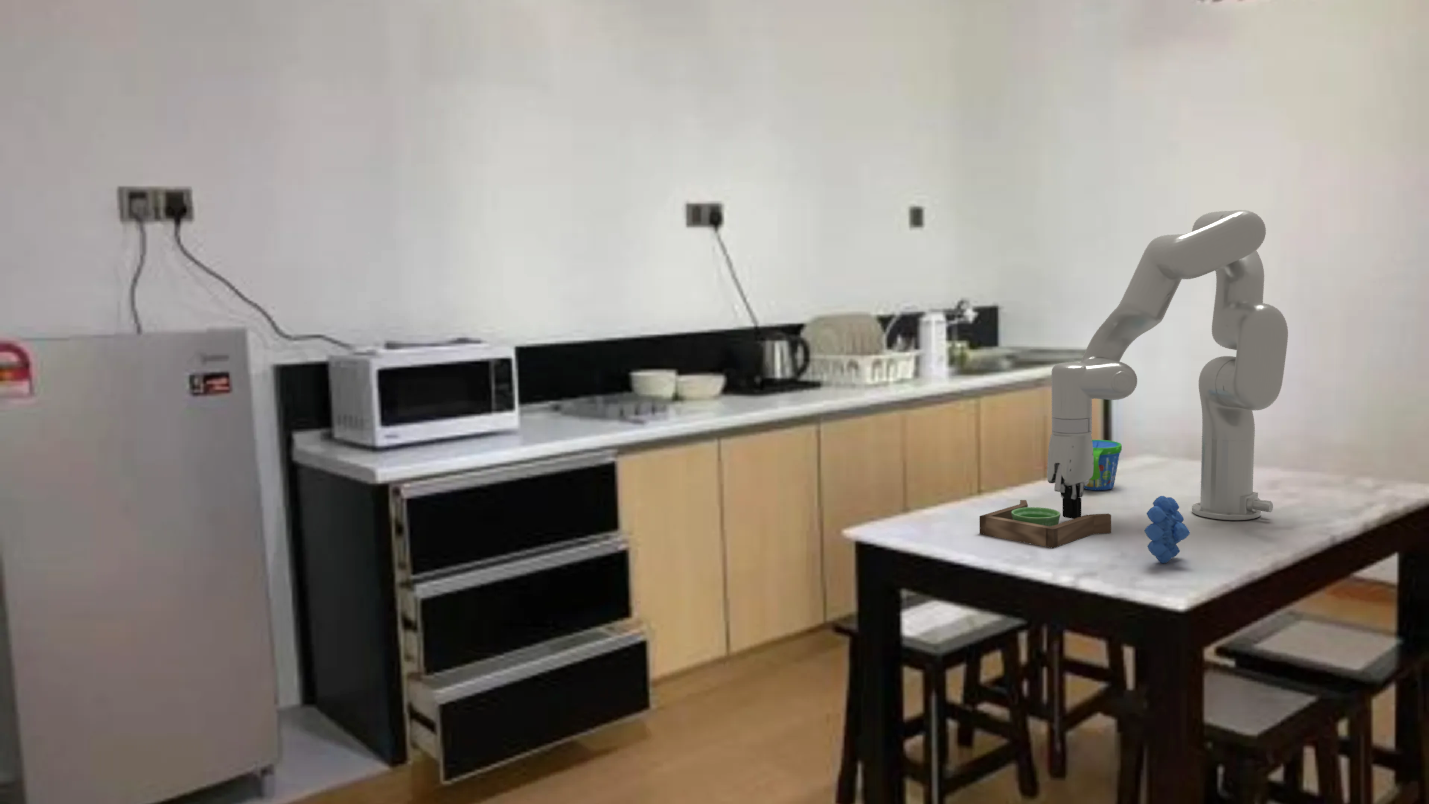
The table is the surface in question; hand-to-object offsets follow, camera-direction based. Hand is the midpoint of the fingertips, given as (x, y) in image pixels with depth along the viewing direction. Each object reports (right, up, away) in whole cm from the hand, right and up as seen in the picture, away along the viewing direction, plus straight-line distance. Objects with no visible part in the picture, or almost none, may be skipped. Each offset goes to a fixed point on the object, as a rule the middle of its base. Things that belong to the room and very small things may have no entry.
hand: (1071, 517), depth 225 cm
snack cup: (+15, +3, +31) cm, 35 cm away
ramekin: (-9, -3, -8) cm, 12 cm away
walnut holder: (-8, -2, -6) cm, 11 cm away
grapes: (+7, -5, -30) cm, 32 cm away
